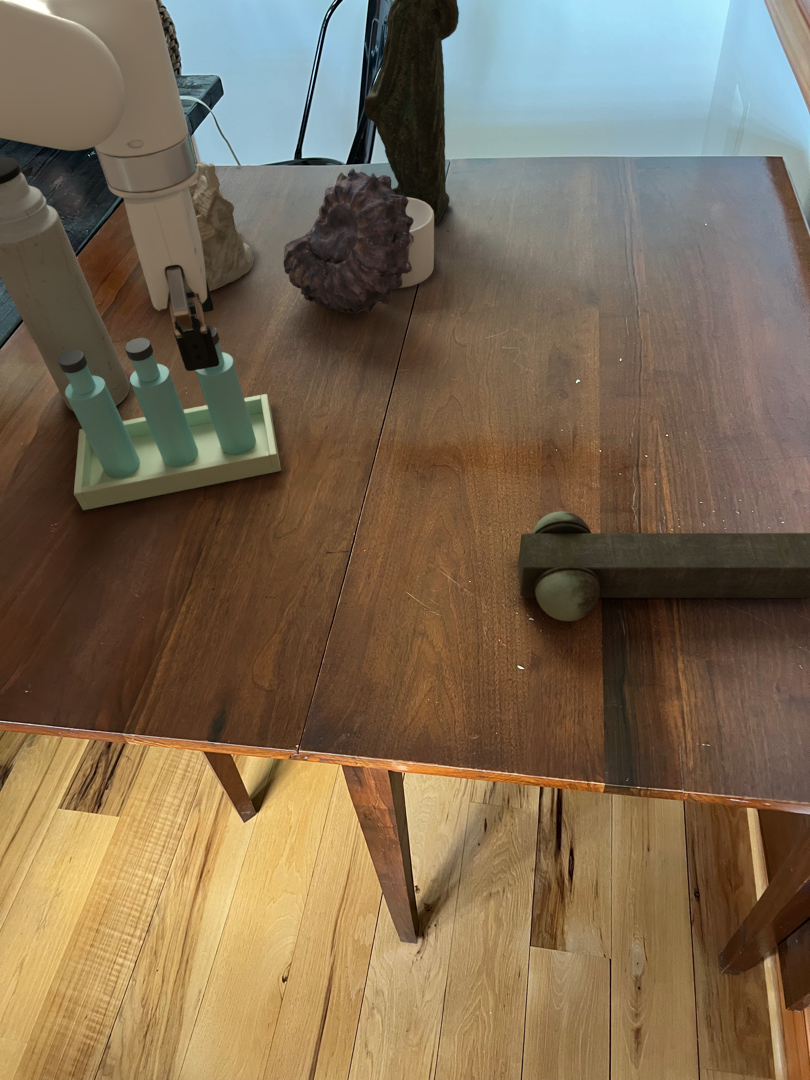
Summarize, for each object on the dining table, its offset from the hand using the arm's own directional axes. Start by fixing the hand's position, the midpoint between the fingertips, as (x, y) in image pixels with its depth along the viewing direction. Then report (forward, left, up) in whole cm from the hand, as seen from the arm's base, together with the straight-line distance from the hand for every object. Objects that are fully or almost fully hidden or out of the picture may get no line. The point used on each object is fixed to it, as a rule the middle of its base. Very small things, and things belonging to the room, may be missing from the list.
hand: (200, 338), depth 76 cm
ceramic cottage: (-2, +42, -15) cm, 45 cm away
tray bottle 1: (-13, 0, -14) cm, 19 cm away
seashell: (+22, +27, -8) cm, 36 cm away
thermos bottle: (-16, +15, -15) cm, 27 cm away
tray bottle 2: (-6, 0, -14) cm, 16 cm away
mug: (+25, +32, -15) cm, 43 cm away
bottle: (0, 0, -14) cm, 14 cm away
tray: (-6, 0, -15) cm, 16 cm away
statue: (+32, +47, -15) cm, 59 cm away
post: (+41, -27, -12) cm, 50 cm away
